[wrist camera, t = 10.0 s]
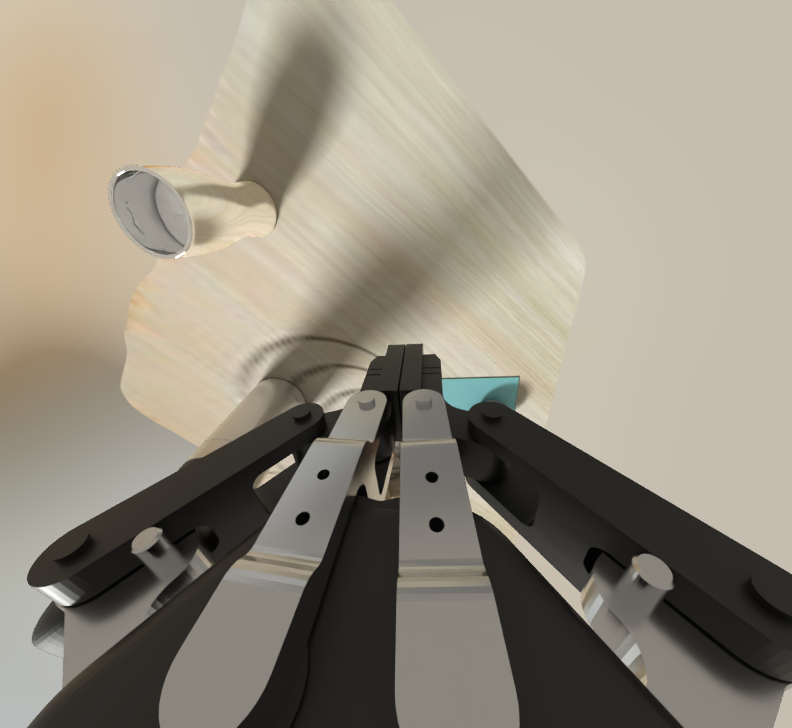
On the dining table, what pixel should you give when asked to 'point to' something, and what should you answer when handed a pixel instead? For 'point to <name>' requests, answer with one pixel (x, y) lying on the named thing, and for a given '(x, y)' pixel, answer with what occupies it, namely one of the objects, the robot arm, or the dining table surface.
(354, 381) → the dining table surface
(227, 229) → the beer glass
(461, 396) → the teal mark
